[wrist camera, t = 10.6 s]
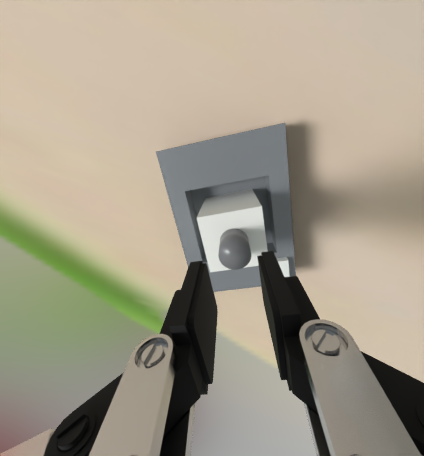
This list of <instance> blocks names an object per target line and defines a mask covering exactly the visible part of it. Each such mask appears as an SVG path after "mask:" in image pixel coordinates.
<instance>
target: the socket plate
mask: <svg viewBox="0 0 424 456" xmlns="http://www.w3.org/2000/svg"><path fill="white" fill-rule="evenodd" d="M156 154H157V157H158V161H159V164H160V168H161V172H162V175H163V179H164V182H165V186H166V190H167V193H168V197H169V200H170V204H171V207H172V211H173V215H174V218H175V222H176V225H177V229H178V232H179V236H180V240H181V243H182V247H183V250H184V254H185V258H186V261H187V265H188V268H189V265H190V262H195V261H202V262H203V263H206V264H207V267H208V271H209V276H210V280H211V284H212V288H213V292H217V291H225V290H234V289H242V288H251V287H259V286H261V279H260V272H259V266H253V267H246V268H242V269H238V270H232V269H231V270H224V271H217V272H210V270H209V266H208V262H207V258H206V254H205V250H204V246H203V242H202V238H201V234H200V230H199V226H198V222H197V216H198V213H199V211H200V209H201V207H202V205H203V203H204V200H205V198H208V197H213V196H218V195H223V194H228V193H233V192H239V191H244V190H249V189H252V190H253V191H254V193H255V195H256V197H257V199H258V200H259V202H260V204H261V206H262V211H263V219H264V227H265V234H266V242H267V249H268V251H273V252H274V254H275V256H276V259H277V261H278V263H279V266H280V268H281V270H282V273H283V275H284V277H291V276H296V272H295V257H294V243H293V228H292V214H291V200H290V185H289V171H288V157H287V142H286V128H285V123H282V124H277V125H273V126H268V127H264V128H259V129H255V130H251V131H246V132H242V133H237V134H233V135H228V136H224V137H219V138H215V139H211V140H206V141H202V142H197V143H193V144H188V145H184V146H179V147H175V148H170V149H166V150H162V151H157V152H156Z"/></svg>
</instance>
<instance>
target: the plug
mask: <svg viewBox="0 0 424 456" xmlns="http://www.w3.org/2000/svg"><path fill="white" fill-rule="evenodd" d="M197 222H198V226H199V230H200V234H201V238H202V242H203V246H204V250H205V254H206V258H207V262H208V266H209V270H210V272H217V271H224V270H231V269H232V270H238V269H242V268H246V267H253V266H259V265H258V258H257V256H260V255H261V252H267V251H268V249H267V242H266V234H265V227H264V219H263V211H262V206H261V204H260V202H259V200H258V199H257V197H256V195H255V193H254V191H253V190H252V189H249V190H244V191H239V192H233V193H228V194H223V195H218V196H213V197H208V198H205V200H204V203H203V205H202V207H201V209H200V211H199V213H198V216H197Z"/></svg>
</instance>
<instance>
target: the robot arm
mask: <svg viewBox="0 0 424 456" xmlns="http://www.w3.org/2000/svg"><path fill="white" fill-rule="evenodd" d="M257 258H258V265H259V272H260V279H261V287H262V294H263V301H264V306H265V311H266V315H267V320H268V324H269V329H270V333H271V338H272V342H273V346H274V351H275V355H276V360H277V364H278V369H279V373H280V377H281V380H287V383H288V386H289V390H290V391H291V390H292V392H293V394H294V395H296V396H297V397H298V398H299V399H300V400H302V401H303V402H304V404H305V409H306V413H307V417H308V421H309V425H310V429H311V434H312V438H313V441H314V446H315V449H316V454H317V456H424V383H423V382H421V381H419V380H417V379H415V378H413V377H411V376H409V375H407V374H405V373H403V372H401V371H399V370H397V369H395V368H393V367H391V366H389V365H387V364H385V363H383V362H381V361H379V360H377V359H375V358H373V357H371V356H369V355H367V354H365V353H363V352H361V351H360V350H359V348H358V346H357V344H356V343H355V341H354V339H353V338H352V336H351V335H350V334H349V333H348V331H347V330H345V329H344V328H343V327H342V326H340V325H338V324H336V323H334V322H331V321H327V320H320V318H319V316H318V314H317V313H316V311H315V309H314V307H313V305H312V303H311V301H310V299H309V298H308V296H307V294H306V292H305V290H304V288H303V286H302V284H301V283H300V281H299V279H298V277H297V276H291V277H284V275H283V273H282V270H281V268H280V266H279V263H278V261H277V259H276V256H275V254H274V252H273V251H267V252H261V255H260V256H257ZM216 327H217V305H216V300H215V296H214V292H213V288H212V284H211V280H210V276H209V271H208V267H207V264H206V263H203V262H202V261H195V262H190V265H189V268H188V271H187V274H186V277H185V280H184V282H183V285H182V288H181V290H177V291H176V292H175V294H174V297H173V299H172V302H171V305H170V307H169V310H168V313H167V316H166V318H165V321H164V324H163V326H162V329H161V332H160V334H155V335H151V336H149V337H148V338H146V339H144V340H143V341H142V342H140V343H139V344H138V345H137V347H136V348H135V349H134V351H133V353H132V354H131V357H130V359H129V362H128V364H127V366H126V369H125V371H124V373H122V374H121V375H120V376H119V377H117V378H116V379H115V380H113V381H112V382H111V383H109V384H108V385H107V386H106V387H104V388H103V389H102V390H100V391H99V392H98V393H96V394H95V395H94V396H93V397H91V398H90V399H89V400H87V401H86V402H85V403H84V404H82V405H81V406H80V407H79V408H77V409H76V410H74V411H73V412H72V413H71V414H70V415H69V416H68V417H66V418H65V419H64V420H63V421H62V423H61V424H60V425H59V426H58V427H57V429H56V430H55V431H54V430H53V429H52V428H51V429H49V430H47V431H45V432H43V433H41V434H39V435H37V436H35V437H33V438H31V439H29V440H27V441H25V442H23V443H21V444H19V445H17V446H15V447H13V448H11V449H9V450H7V451H5V452H3V453H1V454H0V456H191V447H192V436H193V424H194V412H195V405H194V404H195V402H196V401H197V400H198V399H199V398H200V395H202V394H207V391H208V384H212V382H213V371H214V357H215V342H216Z"/></svg>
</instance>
